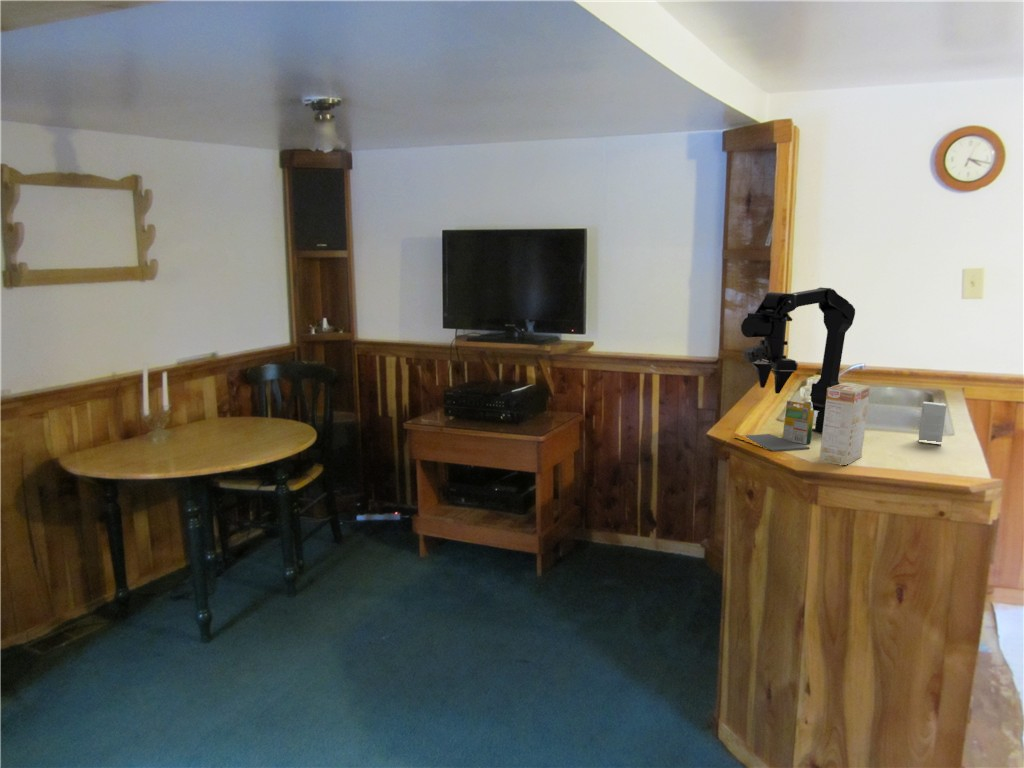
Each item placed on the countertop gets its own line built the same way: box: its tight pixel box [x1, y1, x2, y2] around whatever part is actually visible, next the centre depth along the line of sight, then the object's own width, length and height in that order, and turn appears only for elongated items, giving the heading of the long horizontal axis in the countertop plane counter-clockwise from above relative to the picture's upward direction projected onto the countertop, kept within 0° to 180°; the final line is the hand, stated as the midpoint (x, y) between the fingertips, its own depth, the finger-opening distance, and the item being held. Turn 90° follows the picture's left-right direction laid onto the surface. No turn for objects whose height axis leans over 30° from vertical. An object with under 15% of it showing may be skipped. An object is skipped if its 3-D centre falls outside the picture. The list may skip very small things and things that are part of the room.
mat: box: [744, 433, 810, 452], centre depth 218 cm, size 13×16×1 cm
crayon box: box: [782, 400, 815, 446], centre depth 220 cm, size 7×3×12 cm, turn 42°
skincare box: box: [918, 401, 947, 443], centre depth 228 cm, size 6×4×12 cm
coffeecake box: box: [818, 382, 871, 466], centre depth 202 cm, size 15×7×20 cm, turn 141°
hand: (769, 390), depth 223 cm, fingers open, 9 cm apart
